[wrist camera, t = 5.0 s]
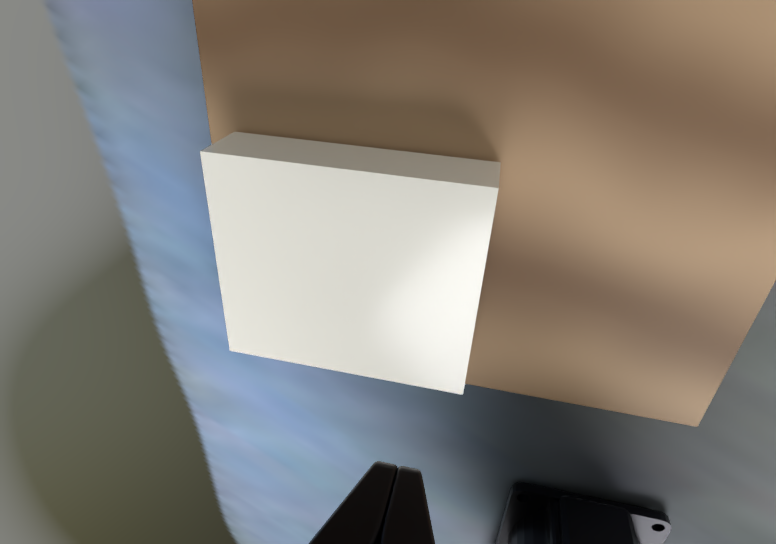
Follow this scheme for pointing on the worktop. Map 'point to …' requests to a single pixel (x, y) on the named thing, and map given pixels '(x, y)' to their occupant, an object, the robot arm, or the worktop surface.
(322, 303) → the tile
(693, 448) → the worktop surface
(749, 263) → the board
